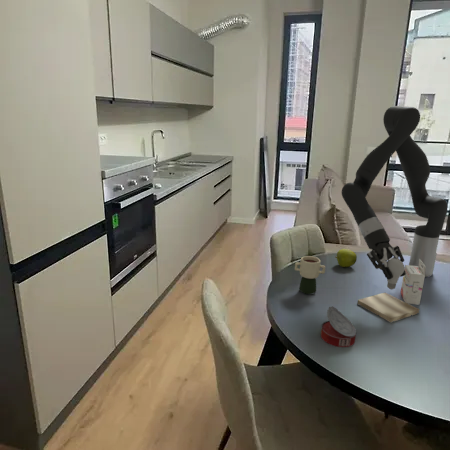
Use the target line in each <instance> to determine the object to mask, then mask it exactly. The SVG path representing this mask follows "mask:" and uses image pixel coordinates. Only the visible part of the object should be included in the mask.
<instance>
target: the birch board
mask: <svg viewBox="0 0 450 450" xmlns="http://www.w3.org/2000/svg"><path fill="white" fill-rule="evenodd" d="M357 305H359V306H361V307H362V308H365V309H366V310H367V311H369V312H372V313H373V314H375V315H377V316H378V315H379V316H378V317H381V318H382V319H384V320H385V321H387V322H388V323H393V321H394V322H397V321H399V320H402V319H406V318H409V317H412V316H414V315H417V313H418V314H419V313H420V309H419V307H415V306H413V304H408V303H405V301H404V300H402V299H399V298H397V297H395V296H393V295H391V294H389V293H387V292H382V293H377V294H375V295H371V296H366V297H364V298H360V299H359V298H358V299H357ZM411 315H412V316H411Z"/></svg>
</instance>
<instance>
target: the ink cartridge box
mask: <svg viewBox="0 0 450 450" xmlns="http://www.w3.org/2000/svg"><path fill="white" fill-rule="evenodd" d="M421 265H422V266H423V268H422V266H421ZM404 267H405V269H404V270H405V272H406V275H404V276H402V277H403V278H402V282H401V287H400V288H401V289H400V295H401V297H402V299H403V302H405V303H408V304H410V305H418V306H419V305H421V298H422V294H423V286H424V283H425V278H426V277H425V268H426V267H425V265H424V264H423V262H422V261H421V260H420V259H419V266H411V265H409V264H404Z"/></svg>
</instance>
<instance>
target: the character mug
mask: <svg viewBox="0 0 450 450" xmlns="http://www.w3.org/2000/svg"><path fill="white" fill-rule="evenodd" d="M321 262H322V261H321V259H320V258H319V257H317V256H311V255H306V256H302V257H300V262H298V261H296V262H295V264H294V271H296V272H299V275H300V276H301V279H300V283H299V287H298V289H299V291H300V292H301V293H303V294H307V295H311V294H312V295H313V294H315V293H316V292H317V278H319V276H320V274H321V275H324V274H325V273H326V266H325V265H323V264H321ZM298 266H299V268H298Z"/></svg>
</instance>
